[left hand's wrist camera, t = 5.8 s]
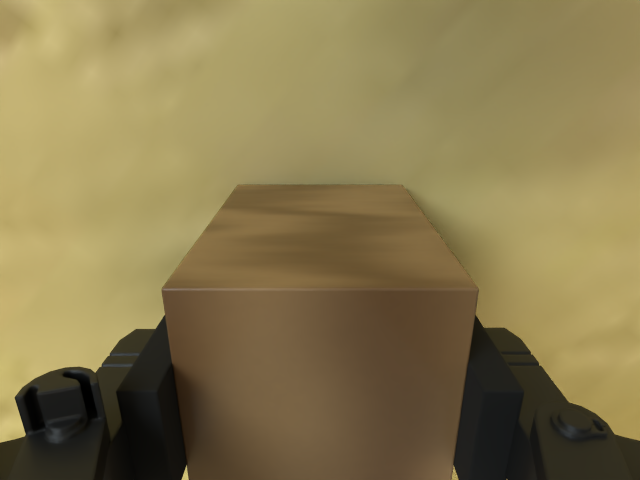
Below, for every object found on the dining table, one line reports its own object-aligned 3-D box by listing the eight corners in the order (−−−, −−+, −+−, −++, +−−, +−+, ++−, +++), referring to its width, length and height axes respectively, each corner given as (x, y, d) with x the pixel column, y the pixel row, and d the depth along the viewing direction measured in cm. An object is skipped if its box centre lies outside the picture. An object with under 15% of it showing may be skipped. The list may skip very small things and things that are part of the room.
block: (247, 329, 18) (193, 518, 10) (237, 184, 16) (160, 288, 8) (392, 329, 18) (446, 518, 10) (403, 184, 16) (480, 288, 8)
